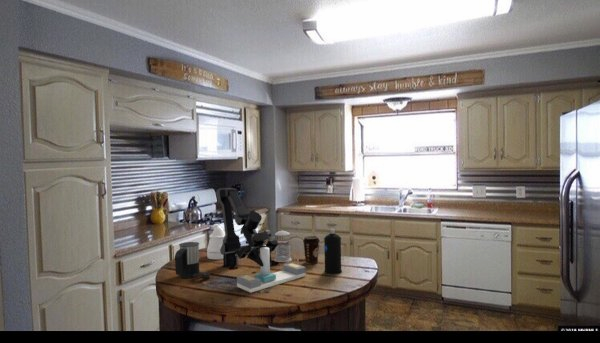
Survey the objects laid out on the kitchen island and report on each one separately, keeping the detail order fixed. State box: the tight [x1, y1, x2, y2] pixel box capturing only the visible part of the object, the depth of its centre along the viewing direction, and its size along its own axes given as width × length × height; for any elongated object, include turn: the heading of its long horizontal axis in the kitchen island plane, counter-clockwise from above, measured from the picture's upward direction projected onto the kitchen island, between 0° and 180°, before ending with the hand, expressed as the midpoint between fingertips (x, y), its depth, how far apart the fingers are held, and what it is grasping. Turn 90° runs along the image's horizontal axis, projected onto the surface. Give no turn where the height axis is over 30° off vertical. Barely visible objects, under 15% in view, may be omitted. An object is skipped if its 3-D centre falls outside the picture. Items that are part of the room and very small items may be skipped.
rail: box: [236, 262, 307, 294], centre depth 158 cm, size 30×10×4 cm, turn 132°
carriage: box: [254, 247, 276, 283], centre depth 155 cm, size 6×7×13 cm
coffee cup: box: [302, 235, 321, 265], centre depth 186 cm, size 9×8×13 cm
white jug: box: [206, 223, 225, 260], centre depth 202 cm, size 13×13×18 cm
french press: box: [270, 212, 293, 263], centre depth 193 cm, size 10×12×25 cm
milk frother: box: [174, 241, 212, 279], centre depth 166 cm, size 14×16×15 cm
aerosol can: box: [323, 228, 343, 275], centre depth 170 cm, size 8×8×20 cm
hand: (267, 265), depth 154 cm, fingers closed on carriage, 4 cm apart
